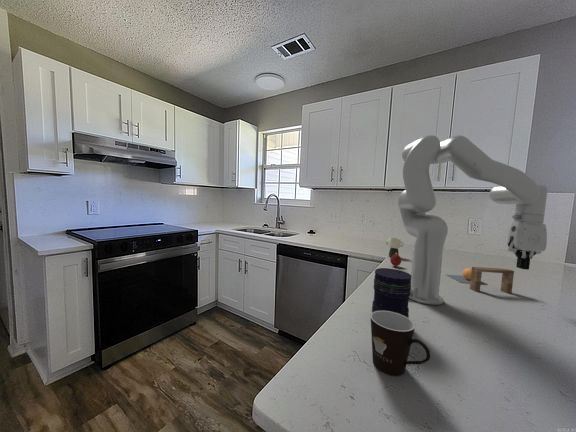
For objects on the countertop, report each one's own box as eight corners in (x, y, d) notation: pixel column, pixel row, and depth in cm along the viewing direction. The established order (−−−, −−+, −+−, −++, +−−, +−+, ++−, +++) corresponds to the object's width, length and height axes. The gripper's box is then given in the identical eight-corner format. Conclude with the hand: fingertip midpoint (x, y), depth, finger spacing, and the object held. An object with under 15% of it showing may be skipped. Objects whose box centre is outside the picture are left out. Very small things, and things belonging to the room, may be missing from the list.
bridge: (511, 293, 98) (514, 270, 97) (474, 291, 99) (477, 268, 98) (505, 290, 101) (507, 268, 100) (469, 288, 102) (471, 266, 101)
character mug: (403, 258, 157) (405, 238, 156) (400, 259, 151) (402, 239, 150) (386, 255, 164) (388, 236, 163) (383, 256, 158) (384, 237, 157)
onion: (402, 268, 129) (403, 254, 129) (391, 267, 130) (392, 253, 130) (399, 265, 135) (400, 252, 135) (388, 264, 136) (389, 251, 136)
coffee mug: (361, 352, 54) (364, 310, 53) (396, 352, 55) (399, 310, 54) (386, 393, 42) (390, 340, 42) (431, 392, 43) (435, 340, 42)
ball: (459, 267, 117) (460, 279, 116) (466, 268, 112) (468, 281, 111) (472, 267, 116) (474, 280, 115) (480, 268, 111) (482, 281, 110)
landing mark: (461, 282, 109) (461, 282, 109) (445, 274, 121) (445, 274, 121) (487, 284, 108) (487, 284, 108) (468, 276, 120) (468, 275, 120)
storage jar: (391, 335, 61) (396, 280, 61) (363, 318, 70) (367, 269, 69) (415, 327, 66) (419, 276, 65) (386, 312, 75) (390, 266, 74)
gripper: (517, 218, 81) (510, 270, 82) (561, 221, 81) (554, 273, 82) (498, 217, 89) (493, 264, 90) (539, 219, 88) (533, 267, 89)
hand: (522, 268), depth 86 cm, fingers closed
